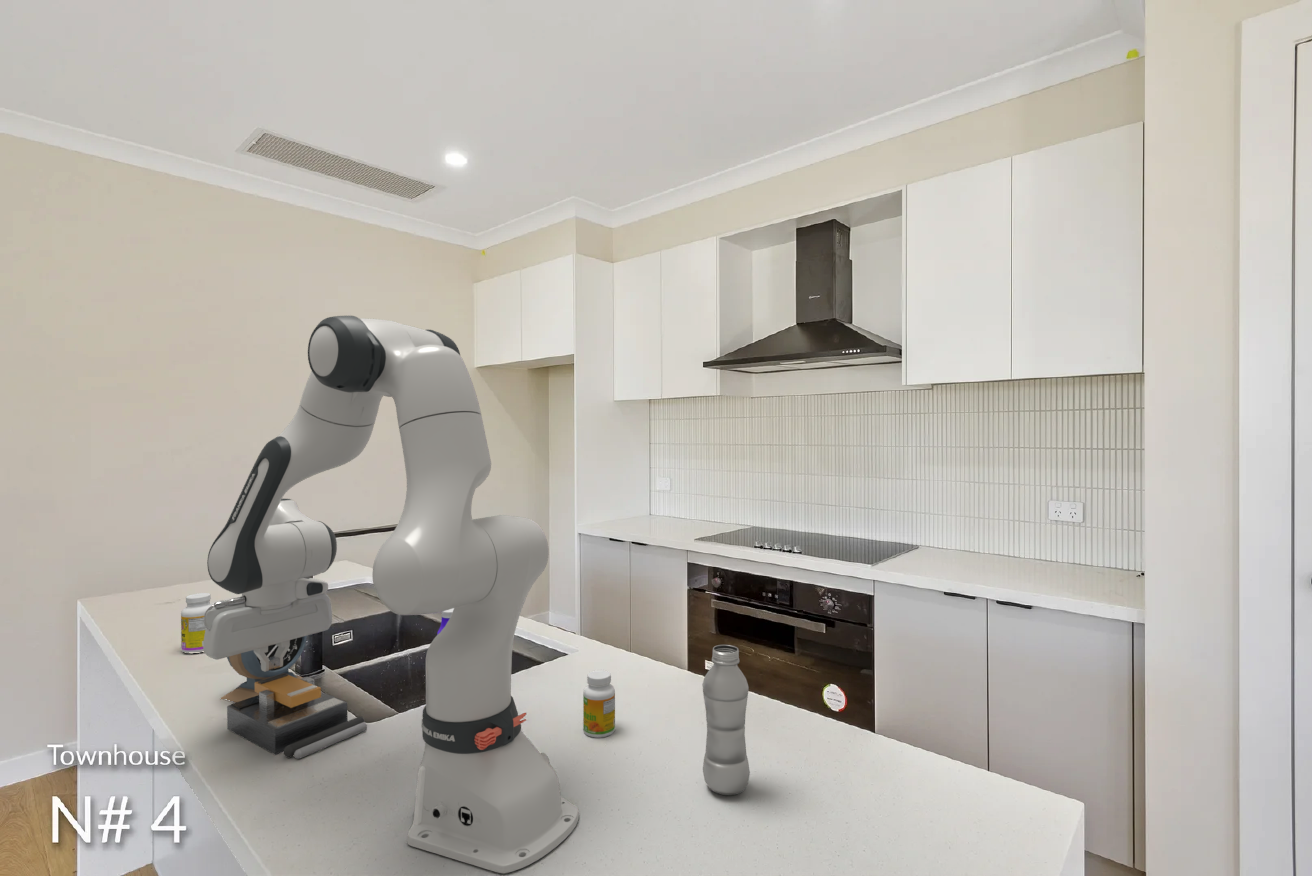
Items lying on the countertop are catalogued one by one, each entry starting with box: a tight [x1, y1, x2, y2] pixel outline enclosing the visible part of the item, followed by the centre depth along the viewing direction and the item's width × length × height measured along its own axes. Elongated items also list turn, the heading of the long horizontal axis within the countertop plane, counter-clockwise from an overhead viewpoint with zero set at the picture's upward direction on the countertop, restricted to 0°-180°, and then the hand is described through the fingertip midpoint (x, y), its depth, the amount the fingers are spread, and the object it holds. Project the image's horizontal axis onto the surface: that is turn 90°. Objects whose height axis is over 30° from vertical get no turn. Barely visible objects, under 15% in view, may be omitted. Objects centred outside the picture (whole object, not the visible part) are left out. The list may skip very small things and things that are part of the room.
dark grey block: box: [226, 676, 349, 756], centre depth 110 cm, size 16×12×7 cm
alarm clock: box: [220, 635, 308, 703], centre depth 126 cm, size 14×10×18 cm
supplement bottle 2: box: [582, 669, 616, 739], centre depth 108 cm, size 5×5×10 cm
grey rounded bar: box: [283, 715, 368, 760], centre depth 104 cm, size 13×3×2 cm, turn 147°
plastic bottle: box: [702, 644, 751, 796], centre depth 91 cm, size 6×7×20 cm
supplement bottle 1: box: [180, 592, 215, 653], centre depth 148 cm, size 7×7×13 cm
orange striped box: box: [255, 673, 322, 708], centre depth 110 cm, size 12×5×2 cm, turn 57°
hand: (272, 668), depth 113 cm, fingers closed
